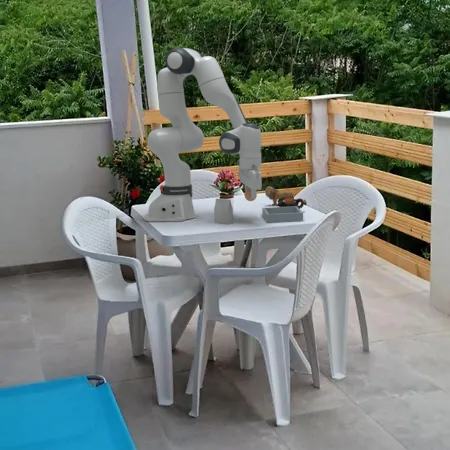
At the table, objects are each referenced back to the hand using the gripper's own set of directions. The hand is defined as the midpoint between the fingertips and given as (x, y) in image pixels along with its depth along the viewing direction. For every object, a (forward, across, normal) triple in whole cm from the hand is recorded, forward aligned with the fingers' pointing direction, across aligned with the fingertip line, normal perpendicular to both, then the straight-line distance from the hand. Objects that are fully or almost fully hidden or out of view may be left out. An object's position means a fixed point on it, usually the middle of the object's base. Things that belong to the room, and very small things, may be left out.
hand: (250, 196), depth 321 cm
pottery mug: (+11, +12, -22) cm, 28 cm away
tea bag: (+11, +2, +11) cm, 16 cm away
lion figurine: (+12, +29, -23) cm, 39 cm away
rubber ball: (+2, 0, 0) cm, 2 cm away
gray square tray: (+10, +1, -14) cm, 18 cm away
